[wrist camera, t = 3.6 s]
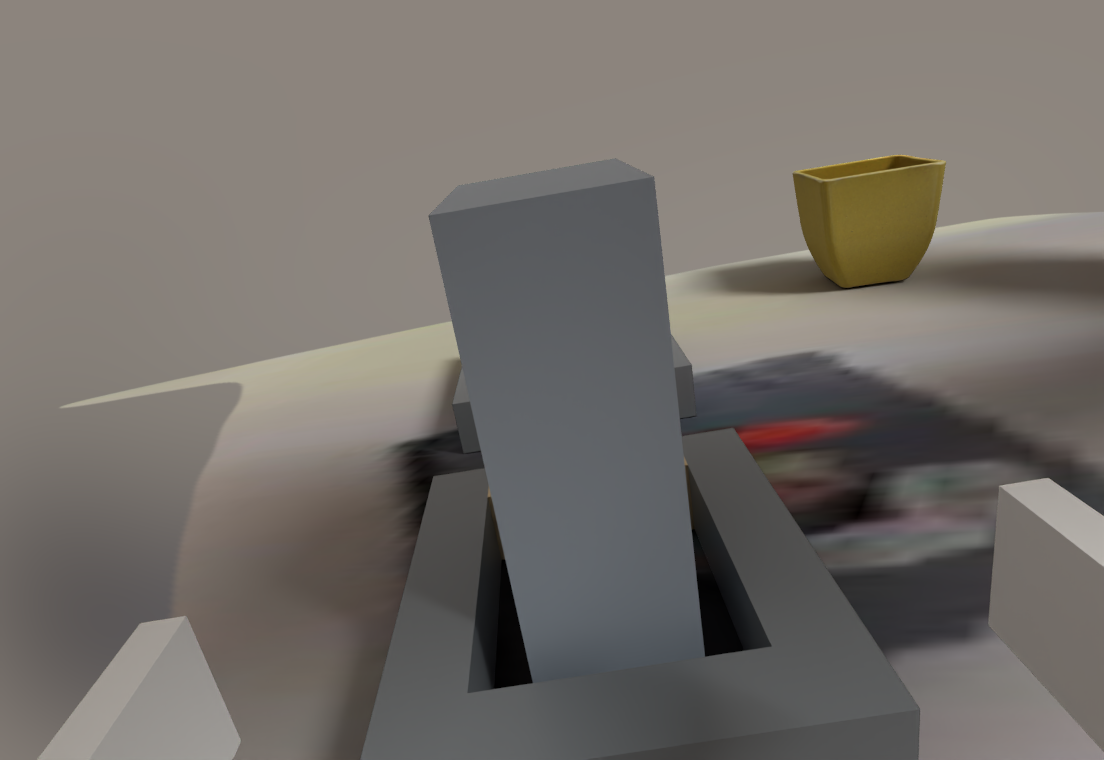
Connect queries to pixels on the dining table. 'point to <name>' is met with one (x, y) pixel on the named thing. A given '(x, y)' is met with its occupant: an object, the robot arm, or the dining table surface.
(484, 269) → the plug
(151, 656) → the robot arm
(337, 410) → the dining table surface
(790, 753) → the socket
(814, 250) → the flower pot
